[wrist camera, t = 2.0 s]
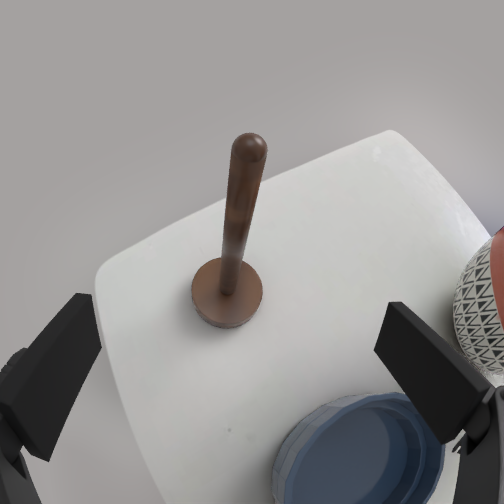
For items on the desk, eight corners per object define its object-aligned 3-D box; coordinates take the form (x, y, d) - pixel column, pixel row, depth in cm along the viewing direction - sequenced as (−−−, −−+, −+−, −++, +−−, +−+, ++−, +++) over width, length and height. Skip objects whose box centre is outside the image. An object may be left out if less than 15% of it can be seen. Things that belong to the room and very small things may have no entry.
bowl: (265, 538, 17) (277, 564, 12) (274, 398, 25) (290, 400, 20) (404, 509, 19) (433, 520, 14) (414, 387, 27) (447, 381, 22)
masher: (189, 324, 28) (149, 191, 10) (197, 261, 31) (188, 90, 13) (258, 330, 28) (341, 213, 10) (260, 268, 32) (320, 107, 13)
